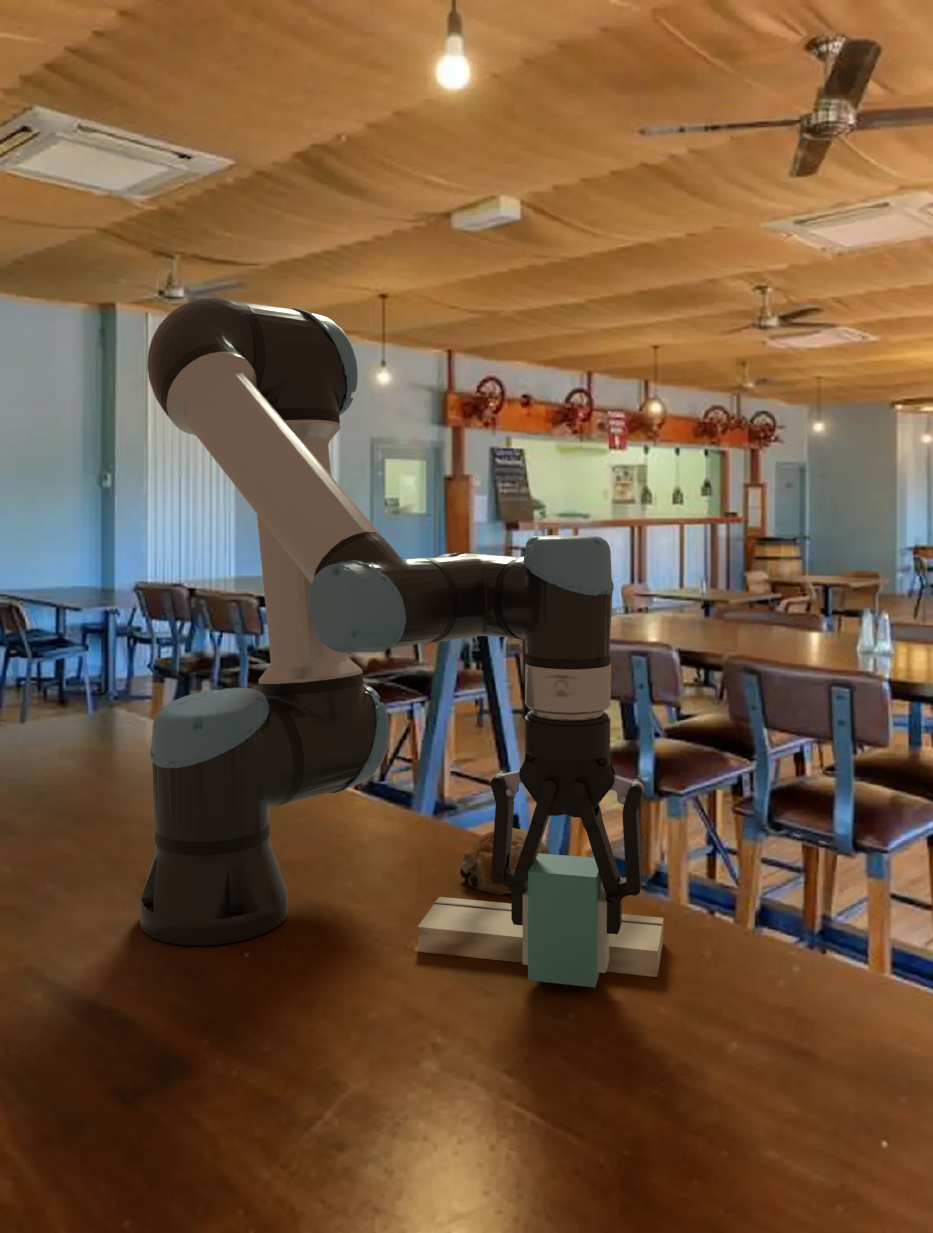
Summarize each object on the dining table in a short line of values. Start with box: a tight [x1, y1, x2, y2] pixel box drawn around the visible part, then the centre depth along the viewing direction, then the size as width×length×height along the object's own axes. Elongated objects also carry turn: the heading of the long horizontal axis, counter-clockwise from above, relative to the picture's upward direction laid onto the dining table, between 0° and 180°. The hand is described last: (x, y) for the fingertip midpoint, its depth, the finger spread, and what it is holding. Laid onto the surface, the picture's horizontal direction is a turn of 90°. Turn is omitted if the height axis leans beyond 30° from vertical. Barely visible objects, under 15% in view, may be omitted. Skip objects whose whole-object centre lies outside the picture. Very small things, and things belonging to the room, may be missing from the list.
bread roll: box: [459, 827, 551, 896], centre depth 124 cm, size 10×10×8 cm
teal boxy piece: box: [527, 853, 604, 988], centre depth 101 cm, size 6×13×10 cm, turn 166°
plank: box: [417, 896, 664, 978], centre depth 106 cm, size 23×8×3 cm, turn 76°
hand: (565, 961), depth 98 cm, fingers closed on teal boxy piece, 6 cm apart
